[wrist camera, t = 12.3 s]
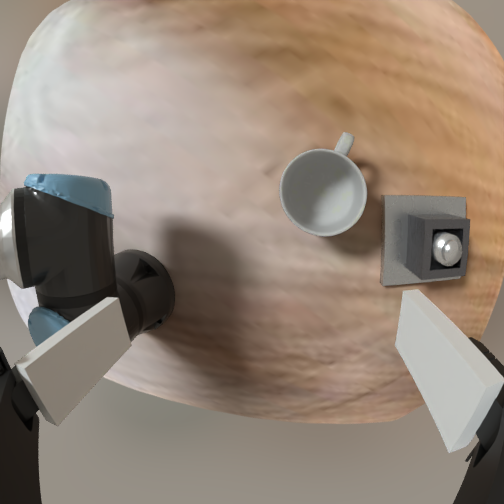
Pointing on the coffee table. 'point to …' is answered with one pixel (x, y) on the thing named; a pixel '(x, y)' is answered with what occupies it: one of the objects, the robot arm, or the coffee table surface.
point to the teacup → (324, 190)
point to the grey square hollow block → (422, 245)
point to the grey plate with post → (396, 232)
